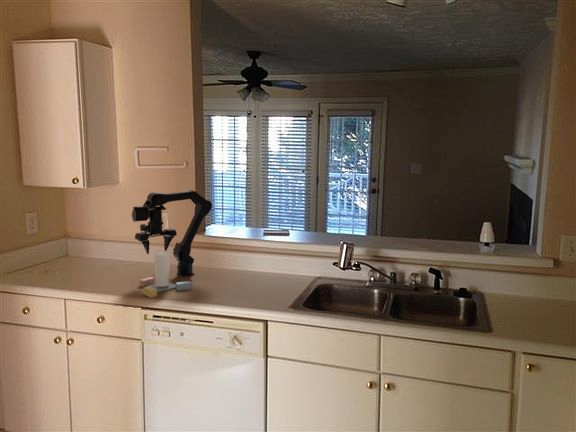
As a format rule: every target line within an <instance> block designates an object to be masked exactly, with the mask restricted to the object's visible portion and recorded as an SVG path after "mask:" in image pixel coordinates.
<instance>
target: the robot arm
mask: <svg viewBox="0 0 576 432" xmlns="http://www.w3.org/2000/svg"><path fill="white" fill-rule="evenodd" d="M185 200H190V201H191V202H192V203H193V204H194V205H195V206H194V214H193V217H192V218H191V221H190V223H189V226H188V228H187V229H186V231H185V233H184V236H183V238H182V240H181V241H179V242H176V243H175V246H174V247H173V248H172V251H173V252H172V255H173V257H174V258H175V259H176V262H177V266H176V268H177V272H176V275H177V276H181V277H184V278H185V277H189V276H193V275H195V272H193V264H194V262H195V259H194V258H193V257H192V256H191V252H192V244H193V241H194V239H195V237H196V235H197V233H198V231H199V229H200V226H201V225H202V222H203V220H204V219H205V218H206V216H207V215H208V214H209V213H210V212H211V210H212V208H213V204H212V202H211V201H210V199H209V200H208V199H206V198H205V197H203V196H202V195H200V194H199V193H198V192H197V191H196V190H192V189H191V190H185V191H176V192H169V193H168V192H167V193H166V192H165V193H164V192H163V193H162V192H149V193H148V195H147V197H146V200H145V202H144V203H143V205H142V206H133V207H132V212H131V218H132V221H133V222H135V223H136V222H145V221H146V222H147V225H146V223H144V224H143V223H141V224H140V225H139V230H140V232H136V233H135V235H134V239H135V240H137V241H138V242H141V244H142V246H143V247H144V250H145V253H146V254H147V255H150V240H149V238H154V237H161V236H162V237H163V246H164V247H163V248H164V249H163V250H164V252H168V251H167V250H168V248H169V246H170V244H171V242H172V240H173V239H174V238H175V237H177V236H178V235H177V233H178V232H177V230H176V229H173V228H164V229H163V225H164V223H165V222H164V221H163V211H166V210H167V207H165V206H164V205H165V204H168V203H170V202H178V201H185Z"/></svg>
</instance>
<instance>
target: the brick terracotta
mask: <svg viewBox="0 0 576 432" xmlns="http://www.w3.org/2000/svg"><path fill="white" fill-rule="evenodd" d="M151 284H156V277H151V276H149V277H145V278H141V279H139V286H140V287H142V288H145V286H147V285H151Z"/></svg>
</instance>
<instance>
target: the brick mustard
mask: <svg viewBox="0 0 576 432" xmlns="http://www.w3.org/2000/svg"><path fill="white" fill-rule="evenodd" d="M142 288H143V295H145V296H147V297H149V298H155V297H157V296H158V293H157V289H154V288H152V287H150V286H149V287H142Z"/></svg>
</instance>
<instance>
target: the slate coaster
mask: <svg viewBox="0 0 576 432" xmlns="http://www.w3.org/2000/svg"><path fill="white" fill-rule="evenodd" d="M149 286H150V287H152V288H154V289H157V294H159V293H162V292H168V291H171V290H177V289H176V283H172V282H170V281H169V285H168V286H167V287H157V285H156V283H155V284H151V285H147V286H145V287H149ZM145 287H144V288H145Z"/></svg>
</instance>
